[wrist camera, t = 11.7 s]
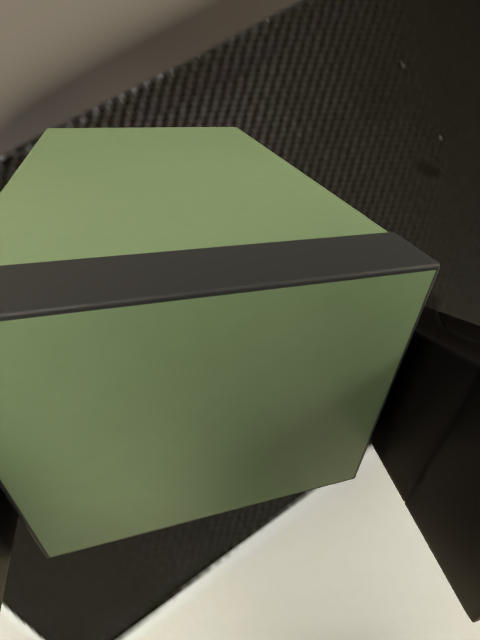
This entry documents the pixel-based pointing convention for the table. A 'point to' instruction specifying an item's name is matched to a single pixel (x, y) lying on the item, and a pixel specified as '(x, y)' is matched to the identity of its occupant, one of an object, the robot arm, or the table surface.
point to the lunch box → (186, 331)
